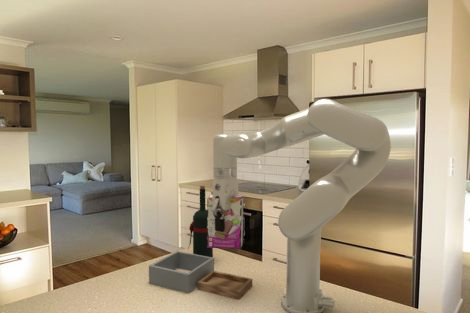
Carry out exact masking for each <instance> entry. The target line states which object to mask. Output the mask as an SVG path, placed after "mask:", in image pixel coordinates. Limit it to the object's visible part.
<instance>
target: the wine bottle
mask: <svg viewBox="0 0 470 313" xmlns="http://www.w3.org/2000/svg"><path fill="white" fill-rule="evenodd" d="M199 187H200V188H199V209H198V210H197V211H196V212H194V214H193V216H192V221H191V223H190V225H189V230H190V232H189V233H190V238H189V245H188V247H187V250H186V251H188V249H189V248H190V246H191V245H192V254H197V255H202V256H207V257H212V258H214V252H213V251H214V250H213V249H214V248H208V247H207V208H206V185H199Z"/></svg>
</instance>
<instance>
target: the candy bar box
mask: <svg viewBox="0 0 470 313" xmlns="http://www.w3.org/2000/svg"><path fill="white" fill-rule="evenodd" d="M212 195H213V194H209V196H207V198H206V201H207V202H206V205H207V206H206V210H207V247H208V248H213V249H229V250H230V249H231V250H235V249H236V250H241V249H242V247H243V239H244V238H243V236H244V235H243V233H244V232H243V230H244V228H243V227H244V225H243V224H244V223H243V221H244V220H243V219H244V196H243V195H239V196H235V197H232V198H231V209H229V210H227V211H225V212H224V218H223V219H225V231H224V232H220V231H215V219H214V215H213V213H212V211H211V208H212V206H213V204H212ZM218 208H219V209H222V208H221V207H218ZM218 212H220V214H221V211H218Z"/></svg>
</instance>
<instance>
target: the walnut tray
mask: <svg viewBox="0 0 470 313" xmlns="http://www.w3.org/2000/svg"><path fill="white" fill-rule="evenodd" d="M252 287H253V278H250V277H245V276H240V275H235V274H231V273H227V272H221V271H217V270H214V271H212V272H210V273H209V274H208V275H206V276H205V277H203V278H202V279H201V280H199V281H198V282H197V288H196V289H197V290H199V291H202V292H206V293H211V294H213V295H214V294H215V295H219V296H221V297H222V296H223V297H227V298H231V299H235V300H238V301H239V300H241V299H242V298H243V297H244V295H246V293H247V292H249V290H251V288H252Z"/></svg>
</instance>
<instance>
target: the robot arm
mask: <svg viewBox="0 0 470 313" xmlns="http://www.w3.org/2000/svg"><path fill="white" fill-rule="evenodd" d="M324 135H325V136H328V137H329V138H331V139H333V140H336V141H338V142H341V143H343V144H345V145H348V146H350V147H352V148H355V149H354V151H353V152H352V153H351V154H350V155H349V156H348V157H346V159H344V160H343V162H341V163H340V164H339V165H337V167H335V168H334V169H333V170H332V171H330V172H329V173H328V174H327V175H324V176H322V177H320V178H319V179H317V180H316V181H314V182H313V183H312V184H310V186H308V187H307V188H306V189H305V190H304V191H302V192H301V193H300V194H299V195H298V196H297V197H296V198H295V199H293V200H292V201H291V202H290V203H289V204H288V205H286V206H285V207H284V208H283V209H282V210H281V211H280V213H279V216H278V220H277V223H278V228H279V230H280V232H281V235H283V236H285V238H286V239H287V240H286V243H287V244H286V281H285V282H286V284H285V285H286V288H285V289H286V293H285V294H283V295H282V296H281V298H280V304H281V307H282V308H283V309H284V310H285V311H287V312H288V313H322V312H323V311H324V310H325V307H327V308H332V309H335V305H336V304H335V303H336V302H335V300H333V297H332V296H327V295H324V294H323V289H321V288H320V287H321V286H320V283H321V282H320V280H321V278H320V277H321V247H322V246H321V244H322V243H321V241H322V240H321V239H322V229H323V226H324V225H325V224H327V223H328V222H329V221H331V220H332V219H333V218H334V217H336V216H337V215H338V214H340V212H341V211H342V210H344V208H345V207H346V205H347V203H349V201H350V199H352V198H353V197H354V196H355V195H356V194H357V193H359V192H360V191H361V190H362V189H363V188H365V187H366V186H367V185H368V184H369V183H370V182H372V181H373V180H374V179H375V178H376V177H377V176H379V174H380V173H381V172H382V171H383V169H384V168H385V167H386V165H387V163H388V160H389V157H390V153H391V148H392V145H391V143H392V142H391V138H390V133H389V129H388V127H387V125H386V123H384V121H382V120H381V119H379V118H377V117H376V116H372V115H370V114H367V113H365V112H362V111H359V110H357V109H354V108H352V107H350V106H347V105H345V104H341V103H340V102H337V101H335V100H334V99H331V98H321V99H317V100H316V101H315V102H313V103H311V105H310V106H309V107H307V108H305V109H302V110H300V111H297V112H294V113H292V114H289V115H286V116H284V117H282V118H281V119H280V120H279V122H278V123H276V124H275V125H273V126H271V127H268V128H266V129H263V130H260V131H257V132H253V133H251V132H250V133H238V134H237V133H236V134H230V133H220V134H219V133H218V134H214V136H213V140H212V143H213V144H212V149H213V150H212V156H213V157H212V158H213V159H212V162H213V164H212V165H213V166H212V168H213V170H212V172H213V173H212V174H213V175H212V176H213V181H212V182H213V184H212V194H211V195H212V204H213V206H212V208H211V211H212V213H213V215H214V219H215V231H220V232H224V231H225V219H223V218H224V212H225V211H227V210H229V209H231V198H232V197H235V196H240V195H239V183H238V182H239V181H238V159H250V158H255V157H259V156H263V155H266V154H268V153H271V152H274V151H278V150H281V149H283V148H288V147H291V146H294V145H297V144H300V143H303V142H306V141H309V140H312V139H315V138H318V137H321V136H324ZM218 207H221V208H222V209H219V208H218ZM218 211H221V214H220V212H218Z"/></svg>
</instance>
